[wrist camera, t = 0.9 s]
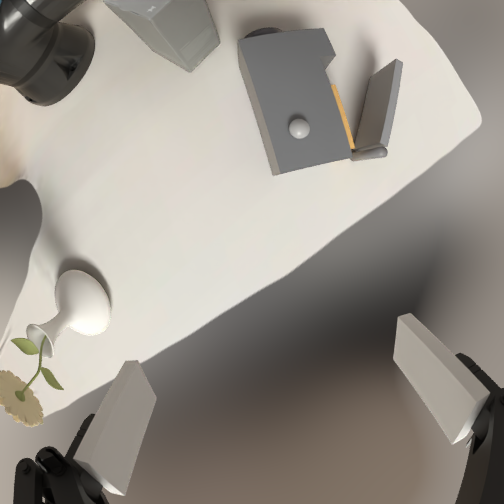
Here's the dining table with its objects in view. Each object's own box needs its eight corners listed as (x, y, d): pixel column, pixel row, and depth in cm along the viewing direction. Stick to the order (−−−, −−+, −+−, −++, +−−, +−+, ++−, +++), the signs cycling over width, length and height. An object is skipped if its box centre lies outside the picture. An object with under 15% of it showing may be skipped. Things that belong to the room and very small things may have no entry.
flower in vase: (52, 276, 37) (-50, 346, 13) (97, 257, 36) (-23, 339, 12) (83, 341, 40) (10, 434, 16) (131, 332, 39) (58, 449, 15)
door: (364, 154, 33) (393, 149, 25) (353, 149, 33) (380, 142, 25) (380, 82, 30) (408, 65, 22) (370, 77, 30) (396, 58, 22)
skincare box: (221, 44, 29) (209, -25, 13) (186, 78, 30) (150, 21, 15) (179, 21, 27) (150, -43, 12) (145, 53, 29) (98, 0, 13)
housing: (236, 57, 29) (233, 26, 21) (319, 44, 29) (336, 14, 20) (274, 180, 34) (283, 179, 26) (358, 160, 33) (389, 156, 25)
